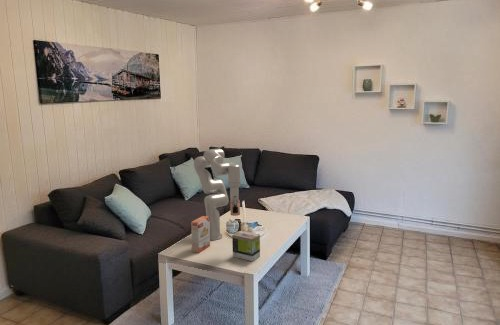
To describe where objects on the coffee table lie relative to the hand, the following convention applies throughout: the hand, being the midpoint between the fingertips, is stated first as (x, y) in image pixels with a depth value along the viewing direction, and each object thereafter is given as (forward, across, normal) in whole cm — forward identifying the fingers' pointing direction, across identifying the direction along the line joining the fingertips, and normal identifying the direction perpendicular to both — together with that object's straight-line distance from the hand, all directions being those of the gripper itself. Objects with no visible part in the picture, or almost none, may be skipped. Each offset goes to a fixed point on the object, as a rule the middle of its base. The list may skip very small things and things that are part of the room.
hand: (235, 211), depth 247 cm
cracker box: (+28, -9, -23) cm, 37 cm away
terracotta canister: (+2, 0, 0) cm, 2 cm away
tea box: (+29, +6, +6) cm, 30 cm away
